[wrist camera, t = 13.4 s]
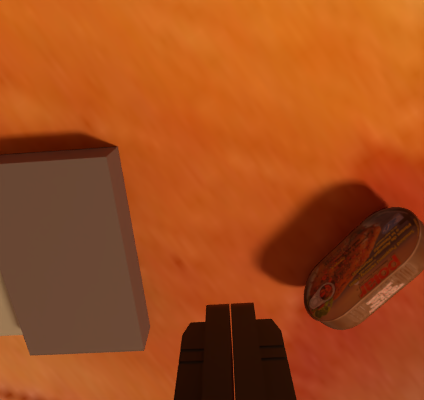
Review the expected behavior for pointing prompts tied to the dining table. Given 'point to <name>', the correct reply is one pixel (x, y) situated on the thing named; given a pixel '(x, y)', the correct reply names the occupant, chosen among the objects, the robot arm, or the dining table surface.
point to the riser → (71, 252)
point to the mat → (7, 313)
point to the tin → (366, 269)
